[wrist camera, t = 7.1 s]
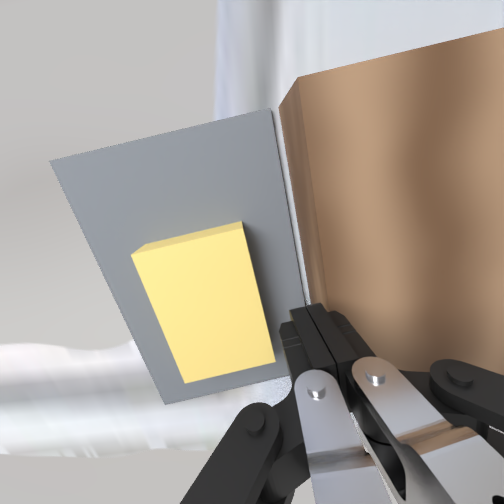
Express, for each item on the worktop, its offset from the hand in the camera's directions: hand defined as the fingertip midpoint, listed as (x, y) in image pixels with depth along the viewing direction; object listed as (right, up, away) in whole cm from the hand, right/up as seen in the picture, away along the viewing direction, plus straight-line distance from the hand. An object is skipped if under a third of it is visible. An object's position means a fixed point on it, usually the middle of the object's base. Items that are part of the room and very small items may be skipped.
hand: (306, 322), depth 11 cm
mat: (-5, +1, +4) cm, 7 cm away
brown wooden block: (+7, +4, +4) cm, 9 cm away
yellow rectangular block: (-5, 0, +3) cm, 6 cm away
